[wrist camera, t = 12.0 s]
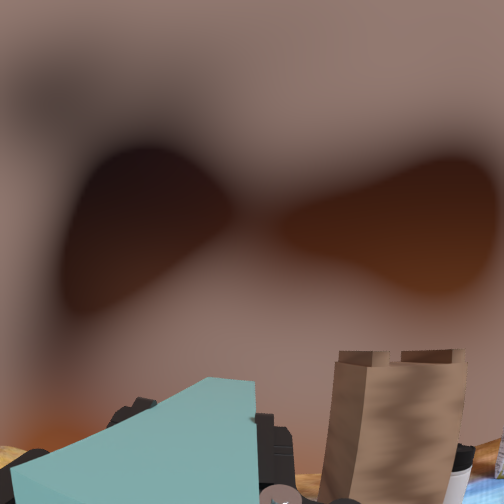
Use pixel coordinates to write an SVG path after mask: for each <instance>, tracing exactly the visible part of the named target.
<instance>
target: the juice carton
mask: <svg viewBox="0 0 504 504" xmlns="http://www.w3.org/2000/svg"><path fill="white" fill-rule="evenodd" d="M495 479H504V427H503V433H502V438H501V443H500V448H499V452H498V457H497V461H496V465H495Z"/></svg>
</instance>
